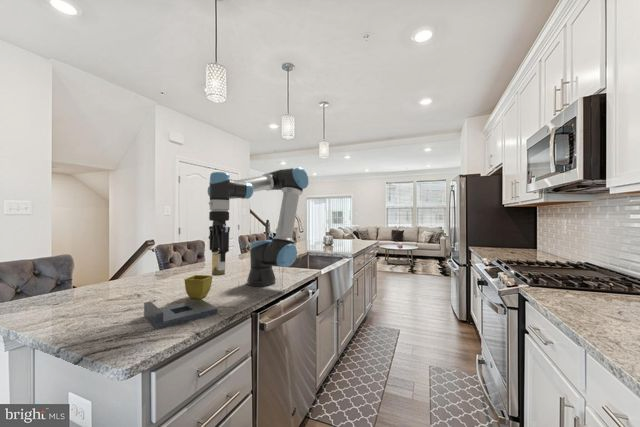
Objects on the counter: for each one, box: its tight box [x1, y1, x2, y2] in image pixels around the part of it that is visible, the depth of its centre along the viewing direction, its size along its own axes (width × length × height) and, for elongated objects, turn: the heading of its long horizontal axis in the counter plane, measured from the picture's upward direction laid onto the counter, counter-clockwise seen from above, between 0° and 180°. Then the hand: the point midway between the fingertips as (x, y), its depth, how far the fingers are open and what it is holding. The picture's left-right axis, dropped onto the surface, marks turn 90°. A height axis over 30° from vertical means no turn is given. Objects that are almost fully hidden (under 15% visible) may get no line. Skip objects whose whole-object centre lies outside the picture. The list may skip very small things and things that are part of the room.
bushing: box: [211, 254, 226, 277], centre depth 106 cm, size 5×5×8 cm
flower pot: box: [184, 274, 213, 300], centre depth 119 cm, size 9×9×9 cm
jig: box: [143, 298, 219, 331], centre depth 97 cm, size 20×16×5 cm
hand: (218, 268), depth 106 cm, fingers closed on bushing, 5 cm apart
